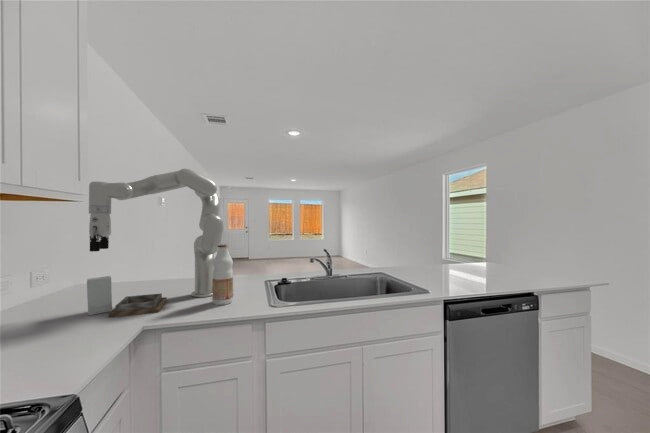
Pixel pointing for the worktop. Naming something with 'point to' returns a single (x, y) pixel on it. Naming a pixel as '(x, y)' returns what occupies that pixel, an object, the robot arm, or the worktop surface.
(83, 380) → the worktop surface
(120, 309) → the tray
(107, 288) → the skincare box
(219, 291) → the fruit juice
